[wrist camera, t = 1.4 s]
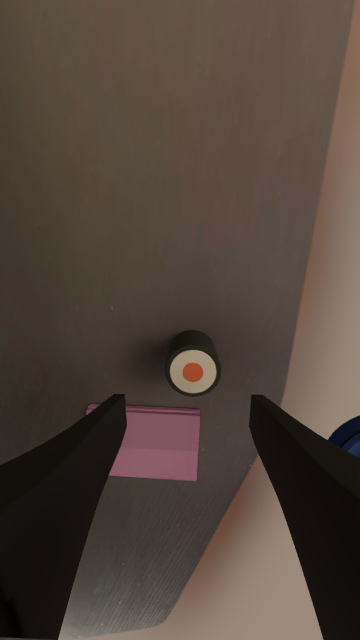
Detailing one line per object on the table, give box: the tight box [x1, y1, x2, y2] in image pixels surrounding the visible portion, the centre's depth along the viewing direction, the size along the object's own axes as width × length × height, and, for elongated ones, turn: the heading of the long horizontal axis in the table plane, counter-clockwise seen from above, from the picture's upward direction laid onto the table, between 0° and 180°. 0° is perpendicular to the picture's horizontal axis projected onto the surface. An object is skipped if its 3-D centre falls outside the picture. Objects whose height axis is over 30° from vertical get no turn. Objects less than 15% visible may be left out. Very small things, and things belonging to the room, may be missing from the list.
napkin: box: [86, 404, 200, 481], centre depth 22 cm, size 12×9×1 cm
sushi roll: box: [165, 330, 221, 397], centre depth 17 cm, size 4×4×5 cm
